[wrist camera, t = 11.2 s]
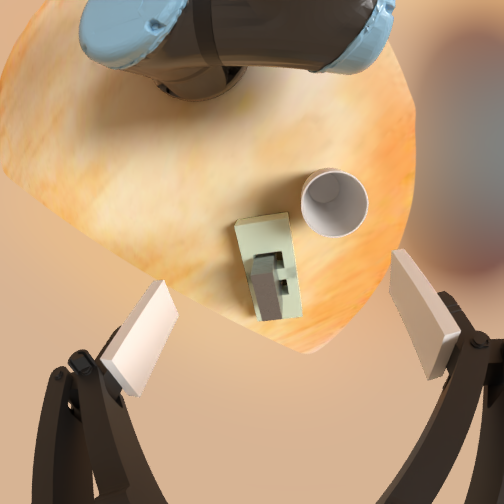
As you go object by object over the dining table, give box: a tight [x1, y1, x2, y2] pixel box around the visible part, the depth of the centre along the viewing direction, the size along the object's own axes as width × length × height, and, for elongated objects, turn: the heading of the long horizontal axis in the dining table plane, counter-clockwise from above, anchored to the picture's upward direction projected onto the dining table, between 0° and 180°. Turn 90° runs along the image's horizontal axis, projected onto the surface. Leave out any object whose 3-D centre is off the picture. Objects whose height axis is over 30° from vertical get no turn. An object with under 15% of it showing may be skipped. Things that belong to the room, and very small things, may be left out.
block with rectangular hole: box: [234, 212, 303, 321], centre depth 44 cm, size 18×8×3 cm, turn 12°
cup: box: [301, 168, 368, 238], centre depth 34 cm, size 8×8×10 cm
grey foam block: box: [250, 252, 283, 321], centre depth 42 cm, size 8×3×9 cm, turn 13°
